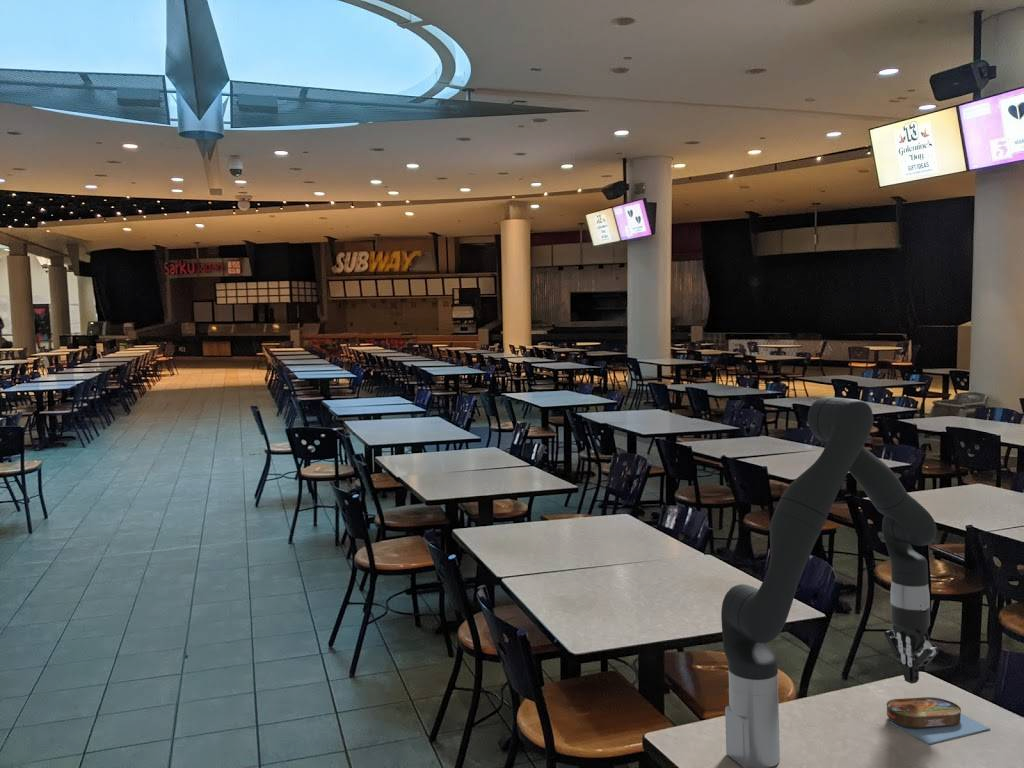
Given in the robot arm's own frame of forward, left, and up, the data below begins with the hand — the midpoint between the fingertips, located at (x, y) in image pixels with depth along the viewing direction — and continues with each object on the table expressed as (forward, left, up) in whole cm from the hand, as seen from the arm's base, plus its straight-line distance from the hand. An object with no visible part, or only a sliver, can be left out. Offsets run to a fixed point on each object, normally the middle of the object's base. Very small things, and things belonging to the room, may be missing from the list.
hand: (911, 681), depth 171 cm
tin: (0, 0, -5) cm, 5 cm away
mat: (0, -7, -6) cm, 10 cm away
